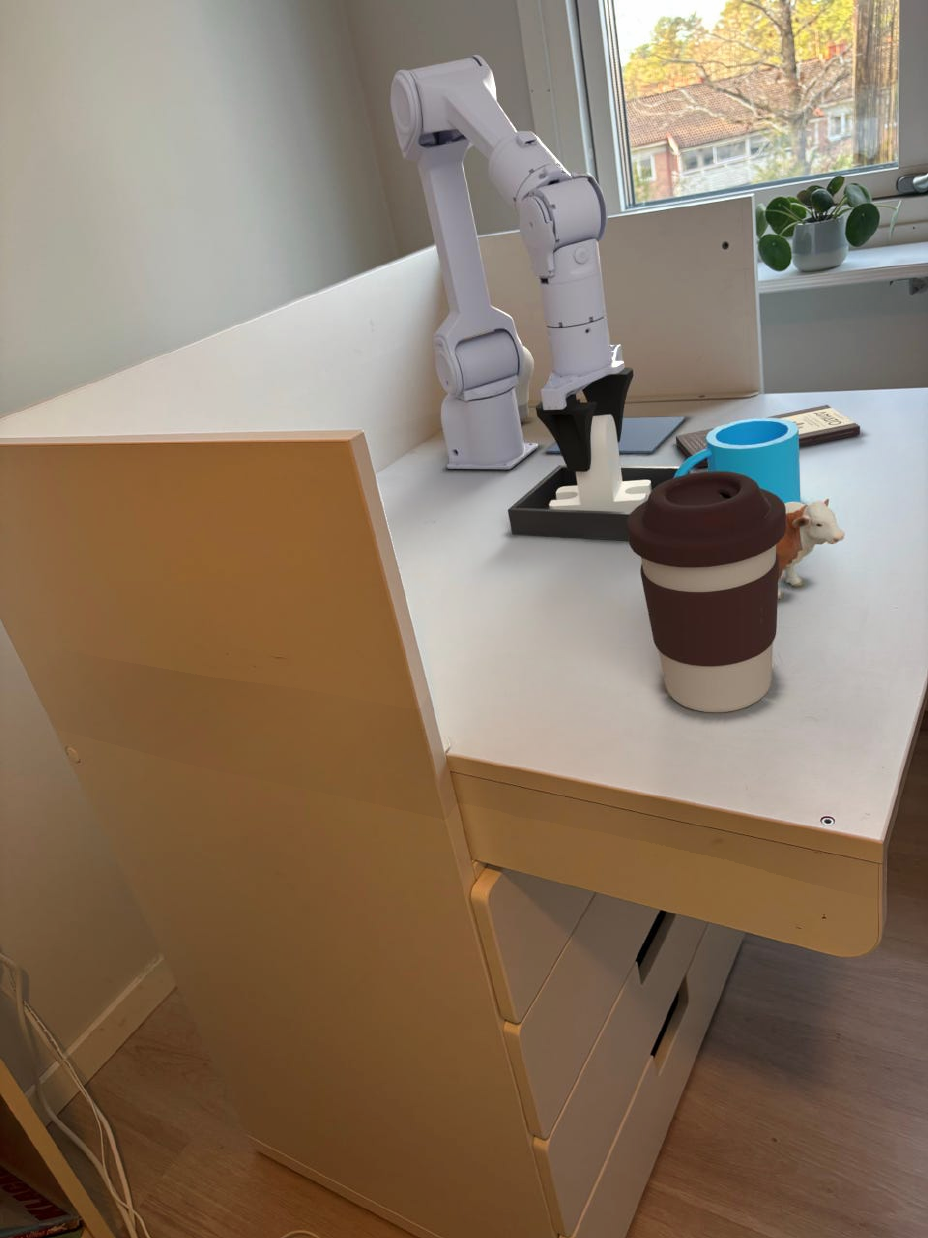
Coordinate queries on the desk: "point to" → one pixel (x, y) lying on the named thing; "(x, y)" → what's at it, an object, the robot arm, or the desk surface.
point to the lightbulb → (524, 386)
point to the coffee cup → (711, 585)
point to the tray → (542, 521)
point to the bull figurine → (805, 535)
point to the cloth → (641, 434)
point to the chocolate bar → (810, 422)
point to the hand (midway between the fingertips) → (595, 456)
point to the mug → (755, 454)
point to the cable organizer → (603, 477)
